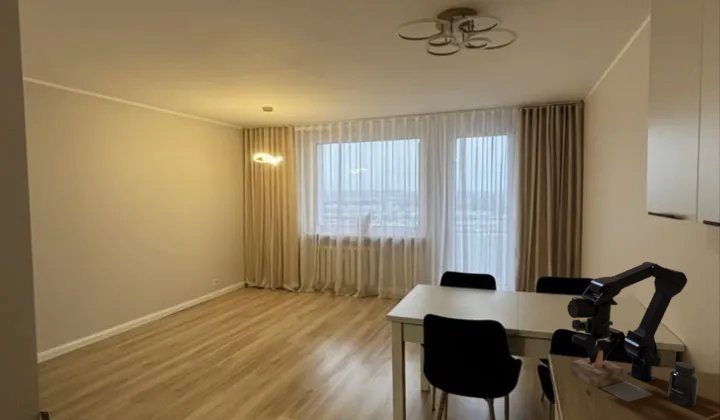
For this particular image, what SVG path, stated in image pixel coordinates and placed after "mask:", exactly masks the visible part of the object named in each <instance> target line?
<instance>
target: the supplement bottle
mask: <svg viewBox="0 0 720 420" xmlns="http://www.w3.org/2000/svg"><path fill="white" fill-rule="evenodd" d="M695 374H696V367H695V365H692V364H690V363H687V362H683V361H677V362H675V365H674V370H671V372H670V373H669V382H668V390H667V399H668V400H669V401H670V402H671V403H672V404H675V405H677V406H681V407H684V408H694V407H696V403H697V393H698V385H699V379H698V377H697V376H696V375H695Z"/></svg>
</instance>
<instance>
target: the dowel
mask: <svg viewBox="0 0 720 420" xmlns="http://www.w3.org/2000/svg"><path fill="white" fill-rule="evenodd" d="M602 363H603V351H602V350H599V352H598V355H597V358H596V360H595V362H594V363H592V366H594V367H596V368H602Z"/></svg>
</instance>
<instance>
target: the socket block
mask: <svg viewBox="0 0 720 420" xmlns="http://www.w3.org/2000/svg"><path fill="white" fill-rule="evenodd" d="M623 372H624V368H623V367H622V366H619V365H617V364H615V363H612V362H611V361H609V360H606V359H605V361H603V363H602V368H596V367H594V366H592V363H591V362H590V359H589V357H585V358H581V359H577V360H573V361H571V368H570V374H571V375H572V376H573V377H574V378H578V379H579V380H581V381H583V382H585V383H587V384H589V385H590V386H592V387H595V388H596V389H597V388H602V387H606V386H610V385H614V384H618V383H621V382H623V377H624V376H623V374H624V373H623Z"/></svg>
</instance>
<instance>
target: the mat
mask: <svg viewBox="0 0 720 420" xmlns="http://www.w3.org/2000/svg"><path fill="white" fill-rule="evenodd" d="M601 389H602V390H604V391H606V392H607V393H610V394H612V395H614V396H616V397H618V398H620V399H621V400H623V401H625V402H633V401H635V400H639V399H644V398H646V397H650V396H652V395H653V393H651V392H649V391H646V390H645V389H642V388H641V387H638V386H636V385H634V384H633V383H629V382H628V381H622V382H618V383H614V384H610V385H606V386H602V387H601Z"/></svg>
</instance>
